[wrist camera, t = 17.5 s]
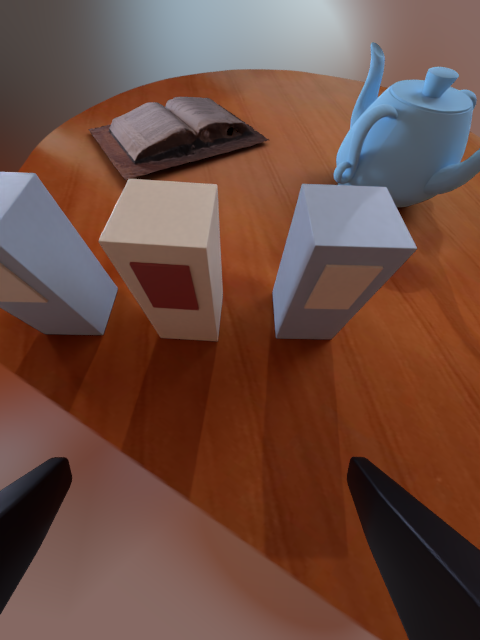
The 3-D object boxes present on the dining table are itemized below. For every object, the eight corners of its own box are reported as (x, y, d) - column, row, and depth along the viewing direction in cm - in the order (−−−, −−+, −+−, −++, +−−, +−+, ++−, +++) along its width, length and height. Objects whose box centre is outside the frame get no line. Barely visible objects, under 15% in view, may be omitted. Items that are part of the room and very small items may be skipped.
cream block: (217, 343, 24) (206, 251, 13) (160, 339, 24) (96, 243, 13) (222, 294, 27) (217, 184, 16) (171, 291, 27) (128, 178, 16)
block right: (331, 341, 25) (419, 251, 13) (275, 340, 24) (315, 248, 13) (322, 293, 28) (386, 186, 16) (272, 292, 27) (302, 183, 16)
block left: (102, 337, 24) (-14, 238, 12) (43, 336, 24) (-130, 234, 12) (118, 288, 27) (35, 172, 15) (65, 287, 27) (-58, 169, 15)
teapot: (333, 153, 43) (373, 37, 31) (443, 183, 40) (538, 66, 27) (306, 201, 36) (345, 75, 24) (437, 243, 32) (564, 121, 20)
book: (270, 145, 44) (273, 115, 40) (125, 185, 36) (112, 151, 32) (217, 112, 53) (216, 85, 49) (91, 138, 44) (78, 107, 41)
